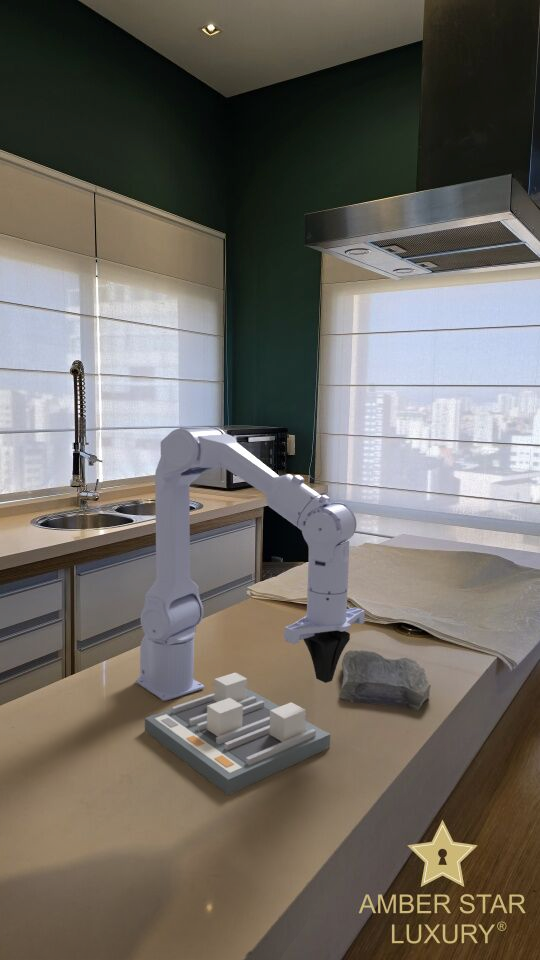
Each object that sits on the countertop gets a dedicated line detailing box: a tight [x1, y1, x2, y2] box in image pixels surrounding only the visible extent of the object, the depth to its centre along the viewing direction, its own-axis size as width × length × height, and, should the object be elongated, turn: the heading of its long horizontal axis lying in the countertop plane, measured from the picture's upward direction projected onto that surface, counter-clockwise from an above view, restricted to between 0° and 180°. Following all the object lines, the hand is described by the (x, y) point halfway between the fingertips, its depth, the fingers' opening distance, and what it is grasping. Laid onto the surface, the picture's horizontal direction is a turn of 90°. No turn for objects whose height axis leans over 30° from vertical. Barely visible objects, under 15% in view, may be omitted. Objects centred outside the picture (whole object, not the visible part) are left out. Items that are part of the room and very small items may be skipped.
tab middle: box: [207, 698, 243, 736], centre depth 93 cm, size 3×4×4 cm
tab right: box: [269, 701, 307, 742], centre depth 93 cm, size 3×4×4 cm
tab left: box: [213, 671, 248, 702], centre depth 102 cm, size 3×4×4 cm
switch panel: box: [144, 688, 331, 796], centre depth 95 cm, size 20×18×3 cm
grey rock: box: [338, 650, 431, 712], centre depth 114 cm, size 15×16×4 cm
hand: (324, 679), depth 97 cm, fingers closed
